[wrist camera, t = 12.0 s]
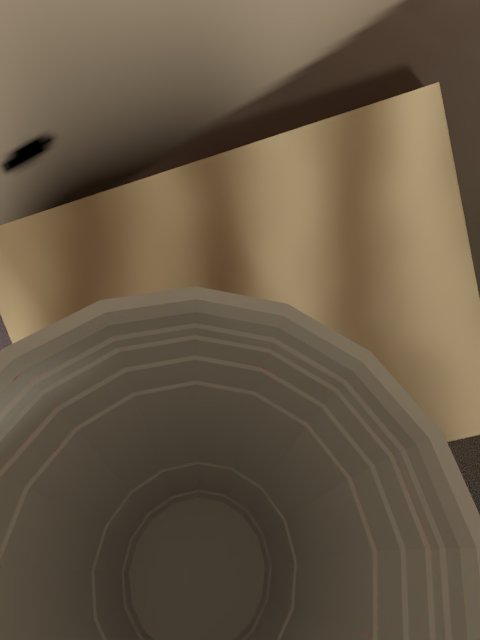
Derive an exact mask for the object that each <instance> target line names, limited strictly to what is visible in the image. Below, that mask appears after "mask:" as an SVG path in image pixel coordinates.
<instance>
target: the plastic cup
mask: <svg viewBox="0 0 480 640" xmlns="http://www.w3.org/2000/svg"><path fill="white" fill-rule="evenodd" d="M0 640H480V515H479V512H478V510H477V508H476V506H475V503H474V501H473V499H472V497H471V494H470V492H469V490H468V488H467V486H466V483H465V481H464V479H463V477H462V474H461V472H460V470H459V468H458V465H457V463H456V461H455V459H454V457H453V454H452V452H451V450H450V448H449V445H448V443H447V441H446V439H445V436H444V434H443V432H442V431H441V430H440V428H439V427H438V426H437V425H436V424H435V423H434V422H433V421H432V419H431V418H430V417H429V416H428V415H427V414H426V413H425V412H424V411H423V409H422V408H421V407H420V406H419V405H418V404H417V403H416V402H415V400H414V399H413V398H412V397H411V396H410V395H409V394H408V393H407V392H406V390H405V389H404V388H403V387H402V386H401V385H400V384H399V383H398V381H397V380H396V379H395V378H394V377H393V376H392V375H391V374H390V373H389V371H388V370H387V369H386V368H385V367H384V366H383V365H382V364H381V362H380V361H379V360H378V359H377V358H376V357H375V356H374V355H373V354H372V352H371V351H369V350H367V349H365V348H364V347H362V346H360V345H358V344H357V343H355V342H353V341H351V340H350V339H348V338H346V337H344V336H343V335H341V334H339V333H337V332H336V331H334V330H332V329H330V328H329V327H327V326H325V325H323V324H322V323H320V322H318V321H316V320H315V319H313V318H311V317H309V316H308V315H306V314H304V313H303V312H301V311H299V310H297V309H296V308H294V307H292V306H290V305H289V304H286V303H280V302H275V301H270V300H265V299H260V298H254V297H249V296H244V295H239V294H233V293H228V292H223V291H218V290H213V289H207V288H202V287H197V286H195V287H188V288H181V289H174V290H167V291H160V292H153V293H146V294H139V295H132V296H125V297H118V298H111V299H104V300H99V301H97V302H95V303H93V304H91V305H89V306H87V307H85V308H83V309H81V310H79V311H77V312H75V313H73V314H71V315H69V316H67V317H65V318H63V319H61V320H59V321H57V322H55V323H53V324H51V325H49V326H47V327H45V328H43V329H41V330H39V331H37V332H35V333H33V334H31V335H29V336H27V337H25V338H23V339H21V340H19V341H17V342H15V343H13V344H11V345H9V346H7V347H5V348H3V349H2V350H1V351H0Z"/></svg>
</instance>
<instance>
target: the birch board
mask: <svg viewBox="0 0 480 640" xmlns="http://www.w3.org/2000/svg"><path fill="white" fill-rule="evenodd" d="M195 286H197V287H202V288H207V289H213V290H218V291H223V292H228V293H233V294H239V295H244V296H249V297H254V298H260V299H265V300H270V301H275V302H280V303H286V304H289V305H290V306H292V307H294V308H296V309H297V310H299V311H301V312H303V313H304V314H306V315H308V316H309V317H311V318H313V319H315V320H316V321H318V322H320V323H322V324H323V325H325V326H327V327H329V328H330V329H332V330H334V331H336V332H337V333H339V334H341V335H343V336H344V337H346V338H348V339H350V340H351V341H353V342H355V343H357V344H358V345H360V346H362V347H364V348H365V349H367V350H369V351H371V352H372V354H373V355H374V356H375V357H376V358H377V359H378V360H379V361H380V362H381V364H382V365H383V366H384V367H385V368H386V369H387V370H388V371H389V373H390V374H391V375H392V376H393V377H394V378H395V379H396V380H397V381H398V383H399V384H400V385H401V386H402V387H403V388H404V389H405V390H406V392H407V393H408V394H409V395H410V396H411V397H412V398H413V399H414V400H415V402H416V403H417V404H418V405H419V406H420V407H421V408H422V409H423V411H424V412H425V413H426V414H427V415H428V416H429V417H430V418H431V419H432V421H433V422H434V423H435V424H436V425H437V426H438V427H439V428H440V430H441V431H442V432H443V434H444V436H445V439H446V441H447V442H450V441H454V440H458V439H463V438H467V437H472V436H476V435H480V298H479V293H478V288H477V282H476V277H475V272H474V266H473V261H472V256H471V250H470V245H469V240H468V234H467V229H466V224H465V218H464V213H463V208H462V202H461V197H460V192H459V186H458V181H457V176H456V170H455V165H454V160H453V154H452V149H451V143H450V138H449V133H448V127H447V122H446V117H445V111H444V106H443V101H442V95H441V90H440V85H439V82H438V83H435V84H432V85H429V86H425V87H422V88H419V89H416V90H413V91H410V92H407V93H404V94H401V95H398V96H395V97H392V98H389V99H386V100H383V101H379V102H376V103H373V104H370V105H367V106H364V107H361V108H358V109H355V110H352V111H349V112H346V113H343V114H340V115H337V116H334V117H330V118H327V119H324V120H321V121H318V122H315V123H312V124H309V125H306V126H303V127H300V128H297V129H294V130H291V131H288V132H285V133H281V134H278V135H275V136H272V137H269V138H266V139H263V140H260V141H257V142H254V143H251V144H248V145H245V146H242V147H239V148H235V149H232V150H229V151H226V152H223V153H220V154H217V155H214V156H211V157H208V158H205V159H202V160H199V161H196V162H193V163H190V164H186V165H183V166H180V167H177V168H174V169H171V170H168V171H165V172H162V173H159V174H156V175H153V176H150V177H147V178H144V179H140V180H137V181H134V182H131V183H128V184H125V185H122V186H119V187H116V188H113V189H110V190H107V191H104V192H101V193H98V194H95V195H91V196H88V197H86V198H82V199H80V200H76V201H73V202H70V203H67V204H64V205H61V206H58V207H55V208H52V209H49V210H45V211H43V212H40V213H36V214H33V215H30V216H27V217H24V218H21V219H18V220H15V221H12V222H9V223H6V224H3V225H0V314H1V317H2V319H3V322H4V324H5V327H6V329H7V332H8V334H9V336H10V339H11V341H12V344H13V343H15V342H17V341H19V340H21V339H23V338H25V337H27V336H29V335H31V334H33V333H35V332H37V331H39V330H41V329H43V328H45V327H47V326H49V325H51V324H53V323H55V322H57V321H59V320H61V319H63V318H65V317H67V316H69V315H71V314H73V313H75V312H77V311H79V310H81V309H83V308H85V307H87V306H89V305H91V304H93V303H95V302H97V301H99V300H104V299H111V298H118V297H125V296H132V295H139V294H146V293H153V292H160V291H167V290H174V289H181V288H188V287H195Z"/></svg>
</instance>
